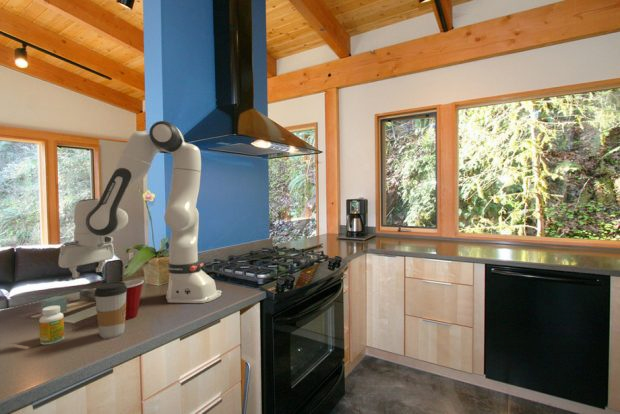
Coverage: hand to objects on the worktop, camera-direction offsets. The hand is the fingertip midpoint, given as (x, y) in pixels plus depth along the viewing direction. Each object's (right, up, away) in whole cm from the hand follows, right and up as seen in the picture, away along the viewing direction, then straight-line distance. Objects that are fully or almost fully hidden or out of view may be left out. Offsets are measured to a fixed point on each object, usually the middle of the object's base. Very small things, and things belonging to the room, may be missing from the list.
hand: (87, 274), depth 122 cm
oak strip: (-2, -11, -8) cm, 14 cm away
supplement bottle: (+13, -12, -33) cm, 37 cm away
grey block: (+10, -11, -11) cm, 19 cm away
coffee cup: (+28, -12, -28) cm, 42 cm away
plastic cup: (+24, -12, -15) cm, 31 cm away
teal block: (-3, -11, -13) cm, 17 cm away
